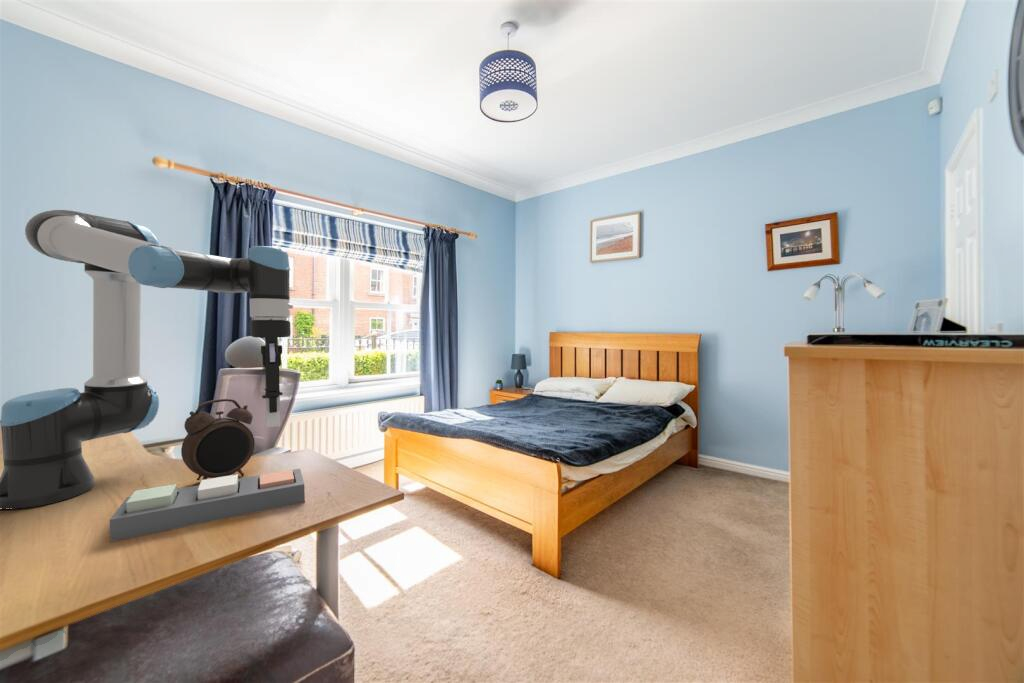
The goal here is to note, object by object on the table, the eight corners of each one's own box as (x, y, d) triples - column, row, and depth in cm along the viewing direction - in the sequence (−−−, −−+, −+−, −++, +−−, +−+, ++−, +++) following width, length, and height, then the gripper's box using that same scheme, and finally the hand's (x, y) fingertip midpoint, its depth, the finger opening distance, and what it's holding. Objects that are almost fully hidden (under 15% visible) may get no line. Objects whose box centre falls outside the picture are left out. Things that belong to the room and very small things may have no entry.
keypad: (127, 516, 83) (126, 497, 82) (300, 484, 99) (300, 468, 99) (110, 541, 73) (109, 519, 73) (304, 502, 89) (304, 484, 89)
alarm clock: (190, 492, 94) (187, 406, 94) (180, 485, 99) (177, 402, 98) (259, 474, 106) (257, 397, 105) (248, 468, 110) (245, 394, 110)
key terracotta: (260, 488, 92) (259, 475, 92) (292, 482, 96) (292, 469, 96) (260, 498, 87) (259, 484, 87) (294, 491, 90) (294, 478, 90)
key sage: (136, 505, 81) (135, 490, 81) (177, 498, 85) (176, 484, 85) (127, 518, 76) (126, 502, 76) (171, 510, 79) (170, 495, 79)
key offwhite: (202, 493, 87) (201, 480, 87) (238, 487, 90) (237, 474, 90) (198, 505, 81) (197, 490, 81) (236, 498, 85) (236, 483, 85)
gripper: (292, 319, 86) (294, 430, 87) (288, 319, 97) (290, 418, 98) (249, 318, 82) (252, 435, 83) (250, 319, 93) (253, 422, 94)
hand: (273, 426), depth 91 cm, fingers closed
